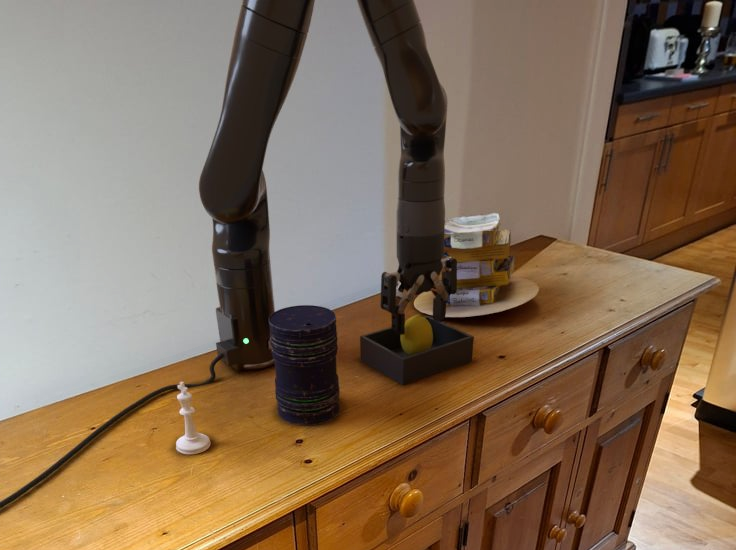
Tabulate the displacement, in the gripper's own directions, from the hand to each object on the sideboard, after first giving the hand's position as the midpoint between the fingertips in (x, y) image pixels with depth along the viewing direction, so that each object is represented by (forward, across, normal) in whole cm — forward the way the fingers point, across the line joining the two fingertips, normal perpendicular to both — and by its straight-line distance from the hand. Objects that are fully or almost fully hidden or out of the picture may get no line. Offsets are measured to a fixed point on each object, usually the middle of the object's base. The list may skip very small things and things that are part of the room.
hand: (418, 327), depth 119 cm
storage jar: (+6, +25, +4) cm, 26 cm away
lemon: (+6, 0, 0) cm, 6 cm away
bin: (+6, 0, 0) cm, 6 cm away
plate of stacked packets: (+6, -26, -14) cm, 31 cm away
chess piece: (+6, +44, +3) cm, 44 cm away
